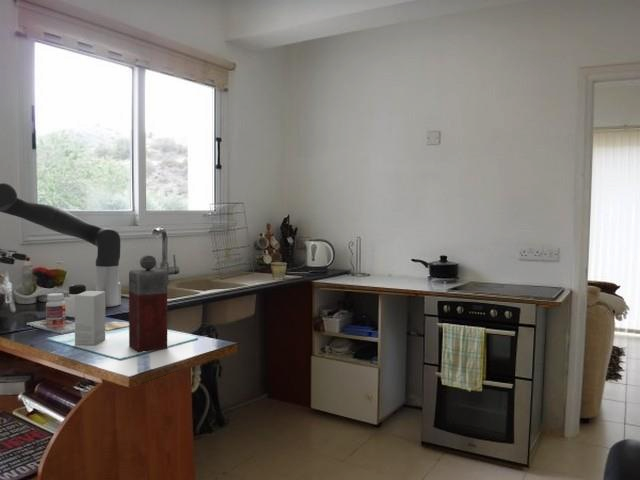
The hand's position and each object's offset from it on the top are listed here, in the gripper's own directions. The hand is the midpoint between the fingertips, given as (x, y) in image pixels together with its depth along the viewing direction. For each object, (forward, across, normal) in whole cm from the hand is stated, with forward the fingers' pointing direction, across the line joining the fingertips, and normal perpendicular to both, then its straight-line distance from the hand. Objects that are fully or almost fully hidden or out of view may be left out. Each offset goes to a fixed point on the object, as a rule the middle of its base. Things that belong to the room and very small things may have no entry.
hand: (20, 259), depth 182 cm
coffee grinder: (+53, -31, +14) cm, 63 cm away
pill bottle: (+15, -2, +22) cm, 27 cm away
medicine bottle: (+16, +17, +23) cm, 32 cm away
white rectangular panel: (+17, -3, +21) cm, 27 cm away
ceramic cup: (+96, +130, +19) cm, 163 cm away
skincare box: (+35, -25, +17) cm, 46 cm away
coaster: (+34, -3, +18) cm, 39 cm away
